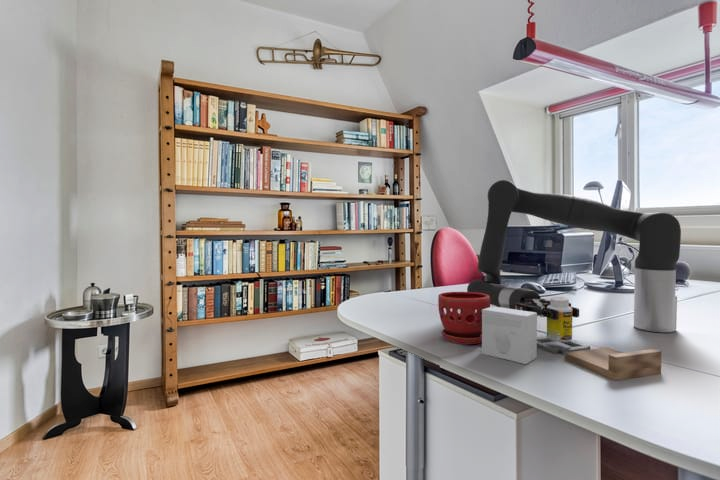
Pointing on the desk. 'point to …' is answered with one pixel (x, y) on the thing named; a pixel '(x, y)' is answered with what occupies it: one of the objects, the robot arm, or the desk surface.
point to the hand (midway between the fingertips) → (567, 314)
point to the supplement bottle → (560, 321)
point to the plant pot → (462, 316)
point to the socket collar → (563, 350)
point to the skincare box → (509, 334)
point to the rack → (618, 362)
